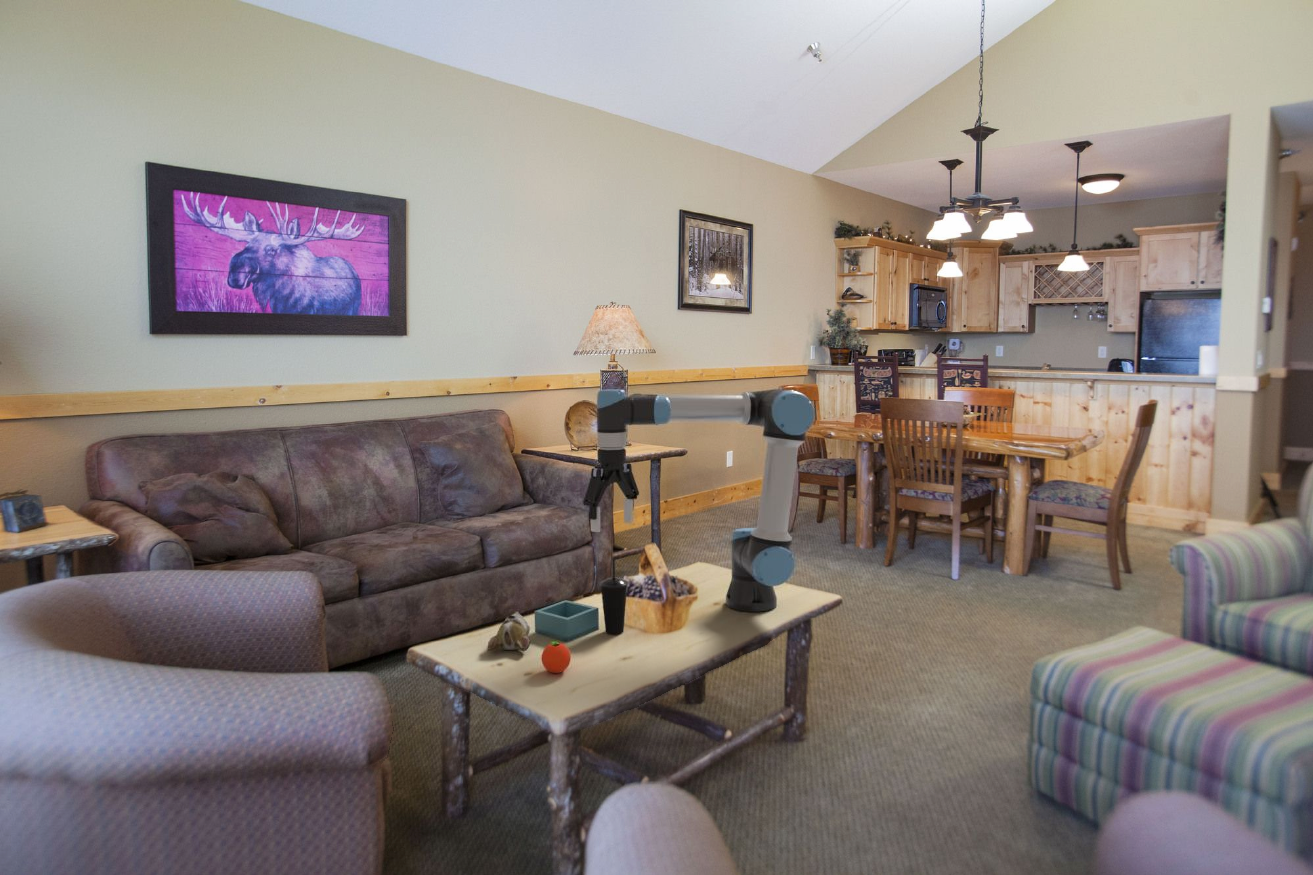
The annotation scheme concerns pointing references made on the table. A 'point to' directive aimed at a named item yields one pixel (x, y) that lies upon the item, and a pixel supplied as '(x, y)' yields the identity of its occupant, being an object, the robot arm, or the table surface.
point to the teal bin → (566, 620)
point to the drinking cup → (614, 603)
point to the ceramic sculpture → (511, 635)
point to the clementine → (556, 657)
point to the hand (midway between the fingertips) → (612, 527)
